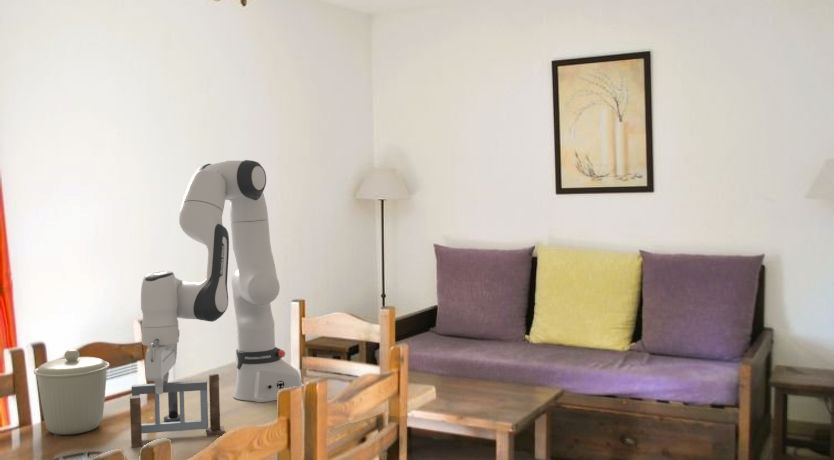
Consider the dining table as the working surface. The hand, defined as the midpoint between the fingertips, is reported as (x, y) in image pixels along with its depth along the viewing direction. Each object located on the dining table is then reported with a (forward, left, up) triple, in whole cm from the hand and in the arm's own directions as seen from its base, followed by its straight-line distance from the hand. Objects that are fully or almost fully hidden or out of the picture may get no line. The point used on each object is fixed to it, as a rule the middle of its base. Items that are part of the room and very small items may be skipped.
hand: (161, 390), depth 199 cm
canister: (+21, -15, -12) cm, 29 cm away
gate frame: (-4, +4, -12) cm, 13 cm away
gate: (-2, +1, -10) cm, 10 cm away
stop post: (-3, -14, -12) cm, 18 cm away
